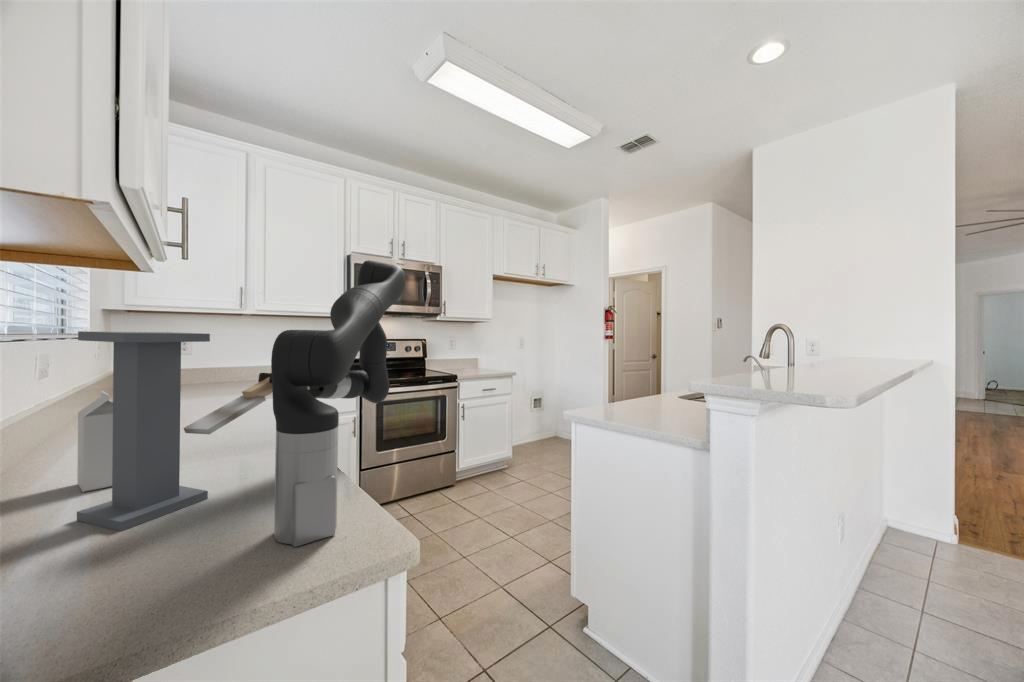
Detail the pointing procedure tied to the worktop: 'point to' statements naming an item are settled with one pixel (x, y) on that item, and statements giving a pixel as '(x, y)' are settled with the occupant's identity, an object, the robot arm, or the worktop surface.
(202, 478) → the worktop surface
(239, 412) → the trowel
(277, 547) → the worktop surface
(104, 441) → the milk carton
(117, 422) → the stand
